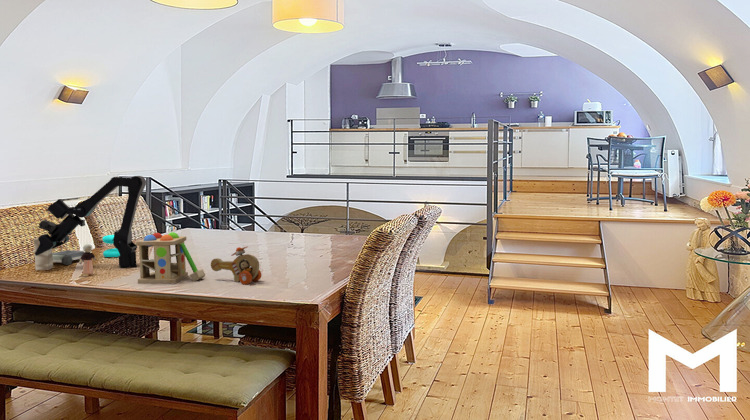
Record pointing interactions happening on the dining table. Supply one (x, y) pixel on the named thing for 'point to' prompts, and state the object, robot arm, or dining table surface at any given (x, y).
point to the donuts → (110, 252)
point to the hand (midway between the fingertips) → (40, 253)
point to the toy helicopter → (240, 266)
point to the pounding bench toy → (165, 259)
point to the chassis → (67, 256)
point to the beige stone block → (43, 258)
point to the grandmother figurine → (87, 260)
